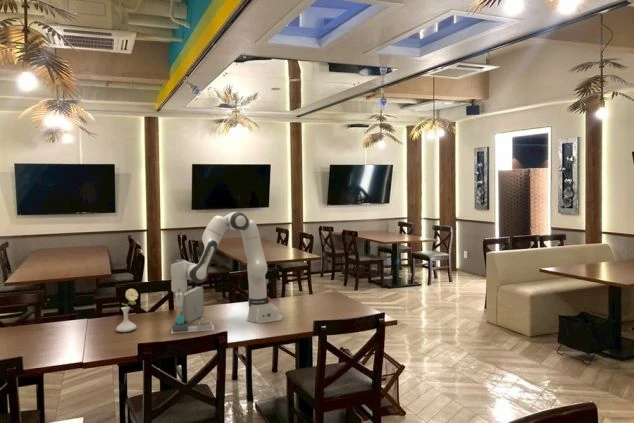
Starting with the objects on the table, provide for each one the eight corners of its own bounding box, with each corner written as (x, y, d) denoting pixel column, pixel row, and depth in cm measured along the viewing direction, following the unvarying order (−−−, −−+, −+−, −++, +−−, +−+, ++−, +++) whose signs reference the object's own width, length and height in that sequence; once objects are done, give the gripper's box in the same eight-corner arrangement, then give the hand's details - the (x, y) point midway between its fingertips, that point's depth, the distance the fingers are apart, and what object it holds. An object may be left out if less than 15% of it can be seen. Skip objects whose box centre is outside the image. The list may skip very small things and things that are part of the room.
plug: (184, 328, 289) (183, 314, 289) (184, 330, 285) (183, 316, 285) (177, 329, 288) (176, 314, 288) (176, 331, 284) (176, 316, 284)
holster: (212, 325, 295) (211, 321, 295) (212, 329, 287) (212, 325, 287) (198, 326, 293) (198, 322, 293) (198, 330, 285) (197, 326, 285)
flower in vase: (118, 334, 284) (116, 292, 283) (114, 330, 294) (112, 288, 293) (141, 330, 291) (139, 289, 290) (137, 326, 301) (135, 286, 300)
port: (188, 327, 292) (188, 320, 292) (187, 331, 284) (187, 324, 283) (173, 328, 290) (173, 321, 290) (172, 332, 282) (172, 325, 282)
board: (213, 327, 296) (213, 324, 296) (214, 332, 286) (213, 329, 286) (172, 330, 291) (172, 327, 291) (171, 335, 280) (171, 333, 280)
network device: (189, 328, 295) (188, 295, 294) (176, 327, 297) (174, 294, 296) (207, 316, 320) (206, 286, 319) (194, 316, 322) (193, 286, 321)
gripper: (184, 290, 276) (185, 314, 277) (185, 283, 296) (186, 306, 297) (172, 291, 275) (173, 315, 275) (174, 284, 295) (175, 307, 295)
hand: (180, 310), depth 286 cm, fingers closed
